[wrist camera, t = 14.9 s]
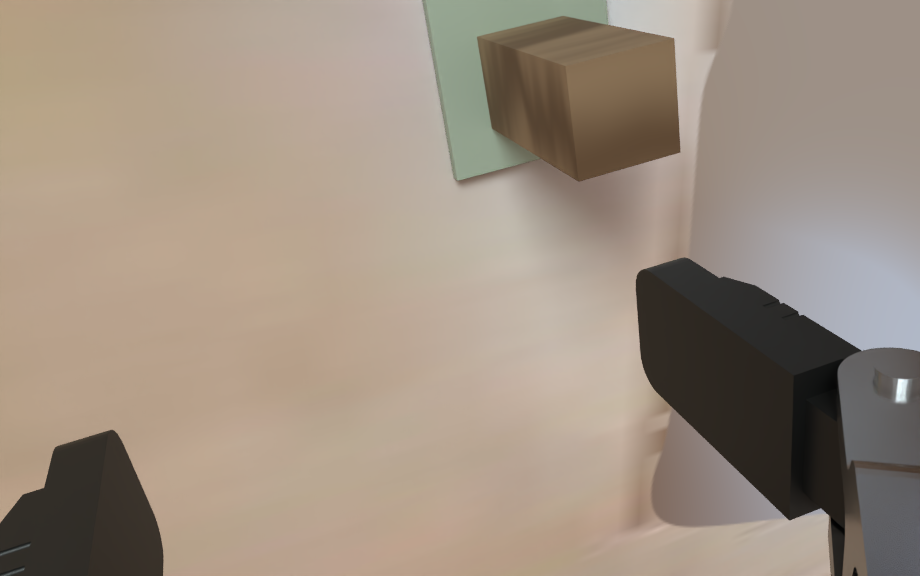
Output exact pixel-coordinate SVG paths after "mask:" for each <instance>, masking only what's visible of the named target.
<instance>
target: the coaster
mask: <svg viewBox="0 0 920 576" xmlns="http://www.w3.org/2000/svg"><path fill="white" fill-rule="evenodd" d="M422 1H423V7H424V12H425V18H426V24H427V29H428V35H429V40H430V46H431V52H432V57H433V63H434V69H435V74H436V80H437V85H438V91H439V97H440V102H441V108H442V114H443V119H444V125H445V130H446V136H447V142H448V147H449V153H450V159H451V164H452V170H453V175H454V178H455V179H456V180H457V181H459V180H463V179H466V178H470V177H474V176H477V175H481V174H485V173H489V172H492V171H496V170H500V169H504V168H507V167H511V166H515V165H519V164H522V163H526V162H530V161H534V160H537V159H541V158H539V157H538V156H536V155H534V154H533V153H531V152H530V151H528V150H526V149H525V148H523V147H521V146H520V145H518V144H516V143H515V142H513V141H512V140H510V139H508V138H507V137H505V136H503V135H502V134H500V133H498V132H497V131H495V130H493V129H492V127H491V121H490V115H489V109H488V103H487V97H486V90H485V84H484V78H483V72H482V66H481V60H480V53H479V47H478V41H477V36H482V35H486V34H490V33H494V32H498V31H502V30H506V29H511V28H515V27H519V26H523V25H527V24H531V23H535V22H540V21H544V20H548V19H552V18H556V17H560V16H567V17H571V18H576V19H581V20H586V21H591V22H596V23H601V24H606V25H608V18H607V5H606V0H422Z"/></svg>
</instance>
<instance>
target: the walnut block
mask: <svg viewBox="0 0 920 576" xmlns="http://www.w3.org/2000/svg"><path fill="white" fill-rule="evenodd" d="M477 41H478V47H479V53H480V60H481V66H482V72H483V78H484V84H485V90H486V97H487V103H488V109H489V115H490V121H491V127H492V129H493V130H495V131H497V132H498V133H500V134H502V135H503V136H505V137H507V138H508V139H510V140H512V141H513V142H515V143H516V144H518V145H520V146H521V147H523V148H525V149H526V150H528V151H530V152H531V153H533V154H534V155H536V156H538V157H539V158H541V159H543V160H544V161H546V162H548V163H549V164H551V165H553V166H554V167H556V168H557V169H559V170H561V171H562V172H564V173H566V174H567V175H569V176H571V177H572V178H574V179H575V180H577V181H583V180H586V179H589V178H593V177H596V176H600V175H603V174H607V173H610V172H614V171H617V170H621V169H624V168H628V167H631V166H634V165H638V164H641V163H645V162H648V161H652V160H655V159H659V158H662V157H666V156H669V155H673V154H676V153H680V137H679V118H678V100H677V82H676V63H675V45H674V38H670V37H665V36H660V35H655V34H650V33H645V32H640V31H636V30H631V29H626V28H621V27H616V26H611V25H606V24H601V23H596V22H591V21H586V20H581V19H576V18H571V17H567V16H560V17H556V18H552V19H548V20H544V21H540V22H535V23H531V24H527V25H523V26H519V27H515V28H511V29H506V30H502V31H498V32H494V33H490V34H486V35H482V36H477Z"/></svg>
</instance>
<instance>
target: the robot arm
mask: <svg viewBox="0 0 920 576" xmlns="http://www.w3.org/2000/svg"><path fill="white" fill-rule="evenodd" d="M636 296H637V310H638V324H639V338H640V352H641V360H642V364H643V368H644V371H645V373H646V376H647V378H648V380H649V382H650V384H651V385H652V387H653V388H654V390H655V391H656V392H657V393H658V394H659V395H660V396H661V397H662V398H663V399H664V400H665V401H666V402H667V403H668V404H669V405H670V406H671V407H672V408H674V409H675V410H676V411H677V412H678V413H679V414H680V415H681V416H682V417H683V418H684V419H685V420H686V421H687V422H688V423H689V424H690V425H691V426H692V427H693V428H694V429H695V430H696V431H697V432H698V433H699V434H700V435H701V436H702V437H704V438H705V439H706V440H707V441H708V442H709V443H710V444H711V445H712V446H713V447H714V448H715V449H716V450H717V451H718V452H719V453H720V454H721V455H722V456H723V457H724V458H725V459H726V460H727V461H728V462H729V463H731V465H733V466H734V467H735V468H736V469H737V470H738V471H739V472H740V473H741V474H742V475H743V476H744V477H745V478H746V479H747V480H748V481H749V482H750V483H751V484H752V485H753V486H754V487H755V488H756V489H757V490H759V492H761V493H762V494H763V495H764V496H765V497H766V498H767V499H768V500H769V501H770V502H771V503H772V504H773V505H774V506H775V507H776V508H777V509H778V510H779V511H780V512H781V513H782V514H783V515H784V516H785V517H786V518H787V519H788V520H792V519H794V518H797V517H799V516H802V515H805V514H807V513H810V512H812V511H814V510H817V509H820V508H822V509H823V510H824V511H825V512H826V513H827V514H828V515H829V529H828V542H829V557H830V572H831V576H920V352H918V351H914V350H909V349H902V348H875V349H869V350H864V351H861V350H860V349H858V348H856V347H855V346H853V345H851V344H850V343H848V342H847V341H845V340H843V339H842V338H840V337H838V336H837V335H835V334H833V333H832V332H830V331H829V330H827V329H825V328H824V327H822V326H820V325H819V324H817V323H816V322H814V321H812V320H811V319H809V318H807V317H806V316H804V315H801V316H799V314H798V311H796V310H794V309H793V308H791V307H790V306H788V305H786V304H785V303H782V304H780V302H779V300H778V299H776V298H775V297H773V296H772V295H770V294H768V293H767V292H765V291H763V290H762V289H760V288H759V287H757V286H755V285H751V284H748V283H744V282H741V281H737V280H734V279H730V278H726V277H722V278H718V277H717V276H715V275H714V274H712V273H711V272H709V271H707V270H706V269H704V268H703V267H701V266H700V265H698V264H696V263H695V262H693V261H692V260H690V259H688V258H680V259H677V260H673V261H670V262H667V263H663V264H660V265H657V266H654V267H650V268H647V269H644V270H641V271H640V272H639V273H638V275H637V279H636ZM0 576H163V547H162V541H161V536H160V532H159V528H158V525H157V521H156V518H155V516H154V513H153V511H152V509H151V506H150V504H149V502H148V499H147V497H146V495H145V493H144V490H143V488H142V486H141V484H140V481H139V479H138V477H137V474H136V472H135V470H134V468H133V465H132V463H131V461H130V459H129V456H128V454H127V452H126V449H125V447H124V445H123V443H122V441H121V439H120V437H119V436H118V434H117V433H116V432H115V431H114V430H109V431H106V432H103V433H99V434H96V435H93V436H89V437H86V438H83V439H79V440H76V441H73V442H70V443H66V444H63V445H60V446H57V447H55V449H54V451H53V454H52V458H51V463H50V467H49V471H48V475H47V479H46V483H45V487H44V488H43V489H39V490H36V491H33V492H30V493H27V494H23V495H22V497H21V498H20V499H19V500H18V502H17V503H16V504H15V505H14V507H13V508H12V509H11V510H10V512H9V513H8V514H7V515H6V517H5V518H4V519H3V520H2V522H1V523H0Z"/></svg>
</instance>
